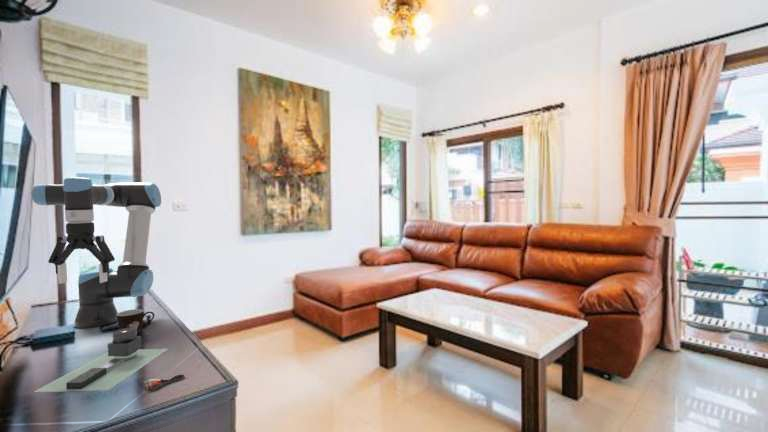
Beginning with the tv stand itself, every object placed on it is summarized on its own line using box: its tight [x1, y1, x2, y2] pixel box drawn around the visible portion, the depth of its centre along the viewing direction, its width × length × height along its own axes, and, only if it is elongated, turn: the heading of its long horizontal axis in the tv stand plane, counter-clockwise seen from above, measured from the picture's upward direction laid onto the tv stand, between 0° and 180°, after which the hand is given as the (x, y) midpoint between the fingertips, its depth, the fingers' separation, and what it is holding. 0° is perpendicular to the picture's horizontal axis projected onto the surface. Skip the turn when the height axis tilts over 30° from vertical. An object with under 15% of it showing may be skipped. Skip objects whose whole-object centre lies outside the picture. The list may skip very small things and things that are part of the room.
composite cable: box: [143, 374, 185, 392], centre depth 99 cm, size 10×5×2 cm, turn 128°
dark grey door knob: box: [107, 328, 143, 356], centre depth 116 cm, size 6×6×7 cm
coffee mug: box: [116, 308, 155, 337], centre depth 136 cm, size 12×9×10 cm
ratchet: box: [66, 351, 137, 389], centre depth 108 cm, size 23×6×5 cm, turn 2°
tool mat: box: [33, 348, 169, 393], centre depth 109 cm, size 28×20×1 cm
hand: (83, 282), depth 124 cm, fingers open, 13 cm apart
